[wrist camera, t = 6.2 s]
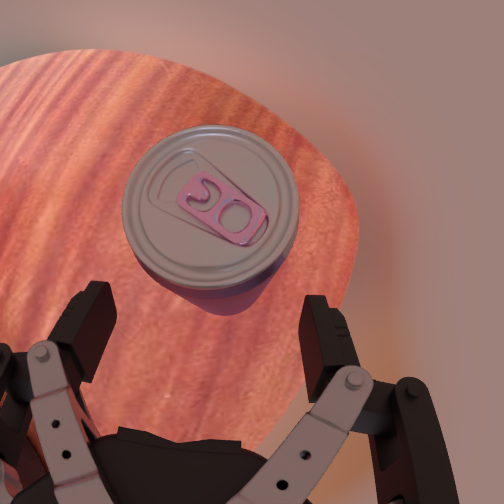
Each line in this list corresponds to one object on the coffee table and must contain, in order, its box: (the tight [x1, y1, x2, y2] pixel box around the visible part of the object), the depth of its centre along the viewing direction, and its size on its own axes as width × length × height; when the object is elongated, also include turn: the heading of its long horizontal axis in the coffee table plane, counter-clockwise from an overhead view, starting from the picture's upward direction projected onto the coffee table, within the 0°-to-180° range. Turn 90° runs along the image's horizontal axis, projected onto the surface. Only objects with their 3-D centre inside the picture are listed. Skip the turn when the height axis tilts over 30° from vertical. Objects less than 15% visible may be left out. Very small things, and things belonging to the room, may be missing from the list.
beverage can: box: [122, 125, 299, 316], centre depth 16 cm, size 6×6×15 cm
